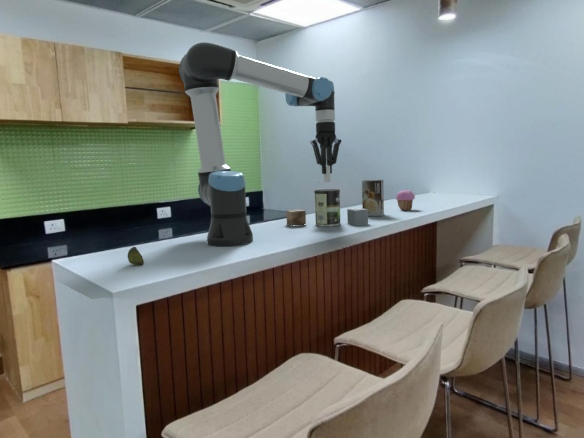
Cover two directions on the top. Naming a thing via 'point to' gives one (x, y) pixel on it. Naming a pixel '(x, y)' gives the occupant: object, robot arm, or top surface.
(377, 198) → the coffee box
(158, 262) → the top surface
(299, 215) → the walnut block
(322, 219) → the coffee can
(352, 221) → the slate block
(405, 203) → the cupcake
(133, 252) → the lime
